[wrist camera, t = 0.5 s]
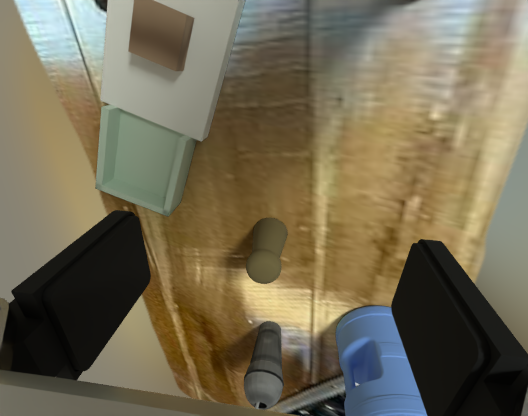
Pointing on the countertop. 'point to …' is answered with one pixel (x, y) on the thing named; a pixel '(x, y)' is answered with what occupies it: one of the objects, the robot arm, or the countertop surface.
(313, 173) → the countertop surface
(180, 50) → the walnut tile
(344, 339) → the water jug
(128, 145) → the box
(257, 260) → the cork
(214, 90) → the white flat slab
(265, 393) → the beverage cup
